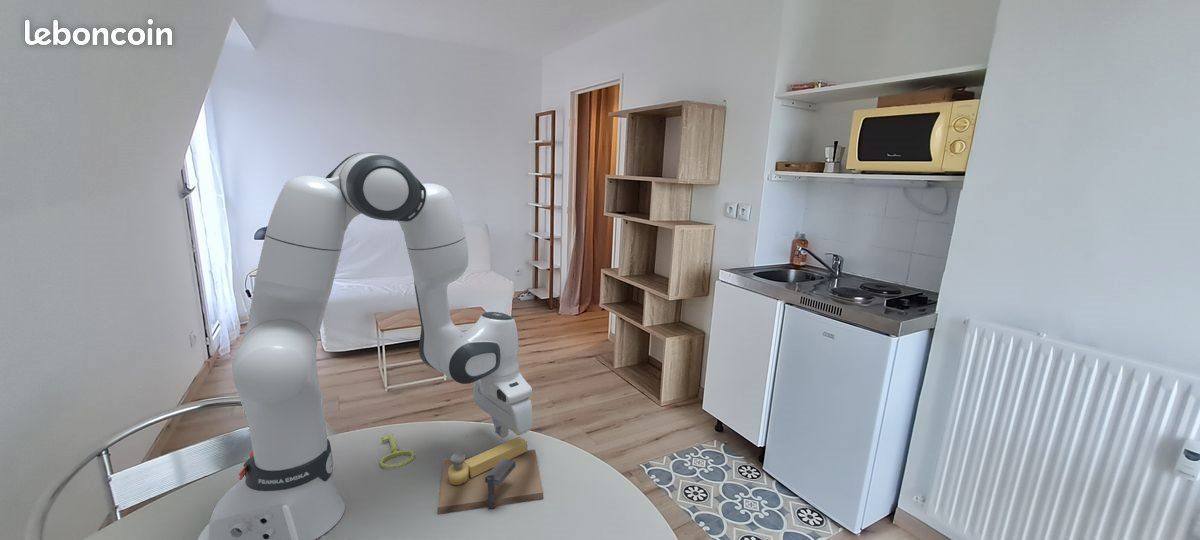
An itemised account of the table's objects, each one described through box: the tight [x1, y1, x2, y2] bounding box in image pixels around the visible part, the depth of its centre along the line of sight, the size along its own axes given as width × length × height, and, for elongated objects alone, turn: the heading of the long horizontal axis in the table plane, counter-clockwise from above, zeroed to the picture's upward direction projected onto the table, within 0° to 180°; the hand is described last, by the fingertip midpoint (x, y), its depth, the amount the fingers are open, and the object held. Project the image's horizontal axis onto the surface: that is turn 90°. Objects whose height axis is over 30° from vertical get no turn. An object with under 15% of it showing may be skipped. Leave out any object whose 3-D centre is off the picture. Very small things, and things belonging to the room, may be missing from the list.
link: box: [448, 435, 528, 485], centre depth 102 cm, size 18×4×2 cm, turn 134°
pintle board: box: [437, 449, 544, 515], centre depth 98 cm, size 20×16×7 cm
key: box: [379, 433, 416, 470], centre depth 108 cm, size 7×12×2 cm, turn 50°
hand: (501, 434), depth 111 cm, fingers closed
